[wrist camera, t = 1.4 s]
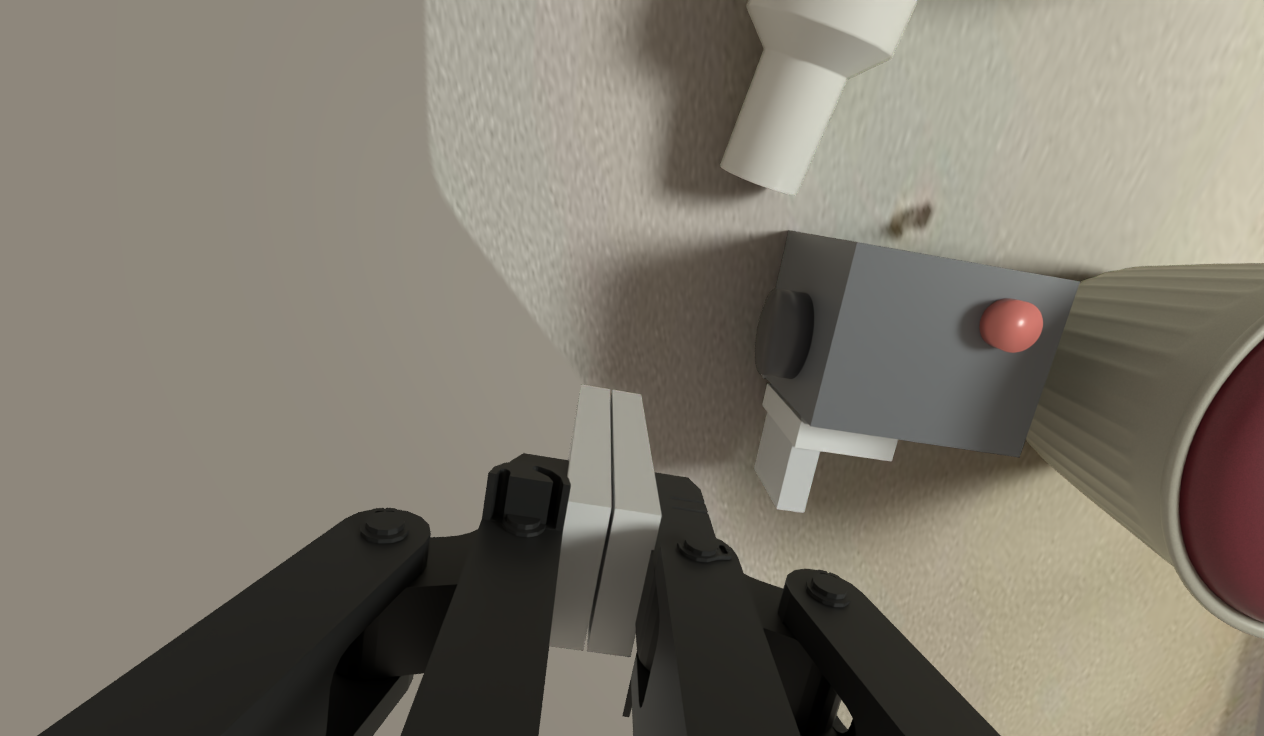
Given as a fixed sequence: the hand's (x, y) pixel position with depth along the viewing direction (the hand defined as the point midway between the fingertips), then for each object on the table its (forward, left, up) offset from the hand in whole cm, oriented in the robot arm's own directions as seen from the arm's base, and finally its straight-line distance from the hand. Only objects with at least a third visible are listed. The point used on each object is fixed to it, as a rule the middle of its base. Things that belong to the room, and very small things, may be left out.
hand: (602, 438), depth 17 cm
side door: (+6, +14, -23) cm, 28 cm away
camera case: (-1, +16, -24) cm, 29 cm away
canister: (-1, +33, -25) cm, 41 cm away
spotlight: (-14, +9, -25) cm, 30 cm away
